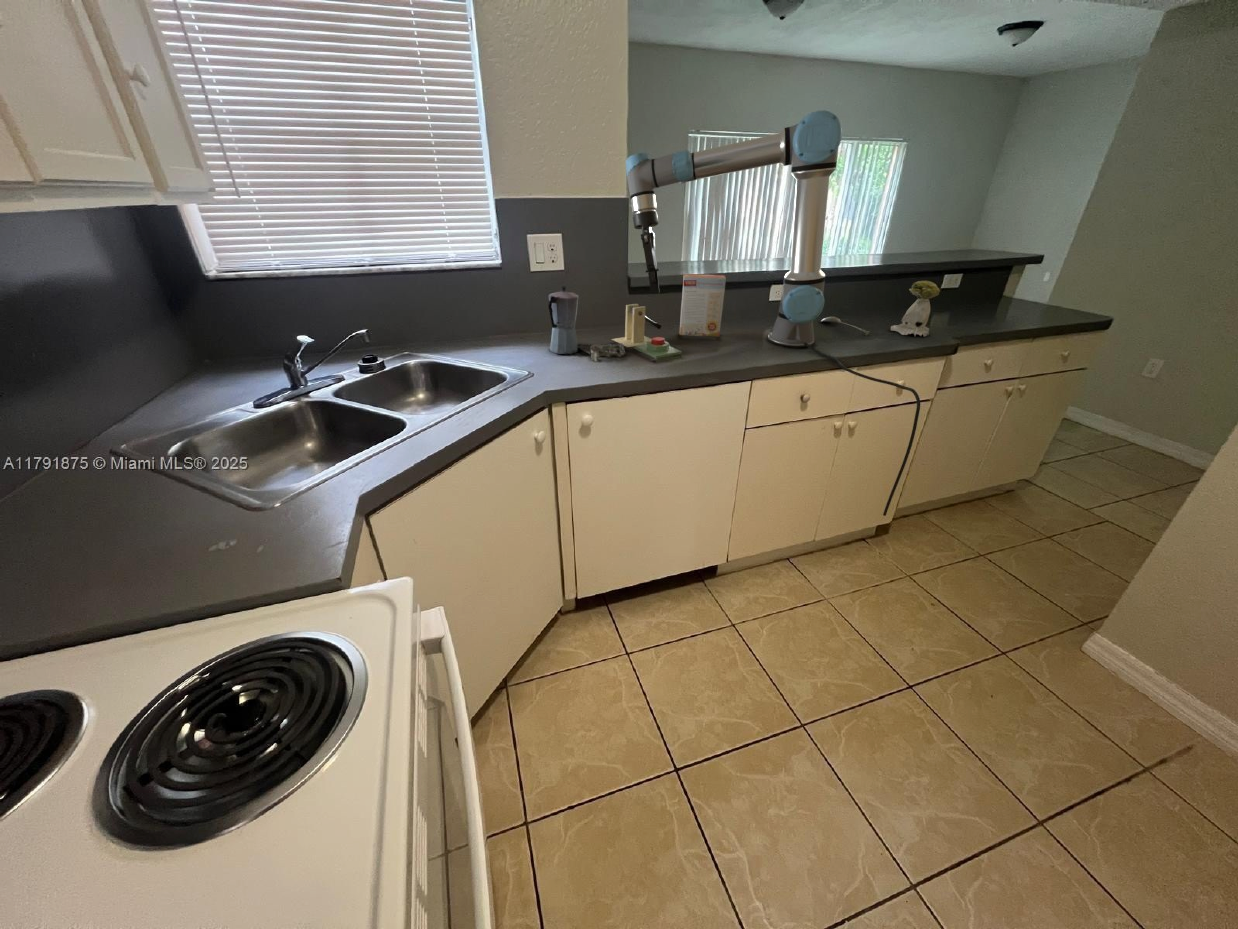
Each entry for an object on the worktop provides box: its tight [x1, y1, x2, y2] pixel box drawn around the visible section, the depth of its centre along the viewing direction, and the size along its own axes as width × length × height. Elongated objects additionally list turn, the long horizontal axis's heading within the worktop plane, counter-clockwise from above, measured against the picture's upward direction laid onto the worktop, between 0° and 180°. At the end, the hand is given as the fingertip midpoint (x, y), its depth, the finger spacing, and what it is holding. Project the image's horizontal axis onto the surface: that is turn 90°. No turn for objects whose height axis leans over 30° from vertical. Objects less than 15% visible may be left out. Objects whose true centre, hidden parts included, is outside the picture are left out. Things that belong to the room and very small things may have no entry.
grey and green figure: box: [890, 280, 941, 337], centre depth 179 cm, size 12×13×18 cm
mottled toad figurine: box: [589, 343, 626, 362], centre depth 151 cm, size 11×8×4 cm
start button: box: [651, 336, 666, 345], centre depth 152 cm, size 4×4×2 cm
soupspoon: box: [820, 316, 870, 336], centre depth 187 cm, size 22×3×7 cm
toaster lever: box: [629, 306, 662, 330], centre depth 161 cm, size 12×5×2 cm
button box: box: [633, 340, 683, 364], centre depth 154 cm, size 12×10×4 cm
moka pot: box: [547, 285, 580, 355], centre depth 151 cm, size 10×15×20 cm, turn 161°
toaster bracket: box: [611, 303, 652, 348], centre depth 161 cm, size 12×10×13 cm
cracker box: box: [679, 273, 727, 338], centre depth 168 cm, size 14×6×21 cm, turn 84°
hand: (655, 293), depth 155 cm, fingers closed
